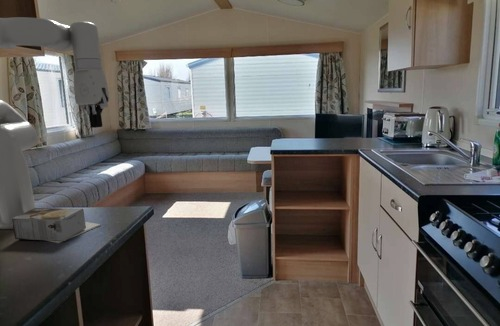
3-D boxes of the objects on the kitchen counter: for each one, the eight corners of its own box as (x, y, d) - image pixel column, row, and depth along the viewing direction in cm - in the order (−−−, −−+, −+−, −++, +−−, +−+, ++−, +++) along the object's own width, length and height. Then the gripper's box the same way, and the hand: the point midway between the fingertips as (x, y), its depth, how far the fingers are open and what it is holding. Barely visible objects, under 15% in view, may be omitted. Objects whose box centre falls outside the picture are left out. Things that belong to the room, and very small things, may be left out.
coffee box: (86, 229, 107) (39, 227, 110) (83, 208, 105) (36, 207, 109) (65, 241, 98) (14, 239, 101) (61, 218, 97) (10, 217, 100)
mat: (23, 235, 105) (23, 234, 105) (66, 219, 117) (66, 218, 117) (58, 243, 98) (58, 241, 98) (100, 225, 110) (100, 224, 110)
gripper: (61, 67, 110) (69, 128, 113) (95, 63, 103) (104, 128, 106) (82, 68, 116) (90, 126, 120) (116, 64, 109) (123, 125, 113)
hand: (96, 127), depth 113 cm, fingers closed
